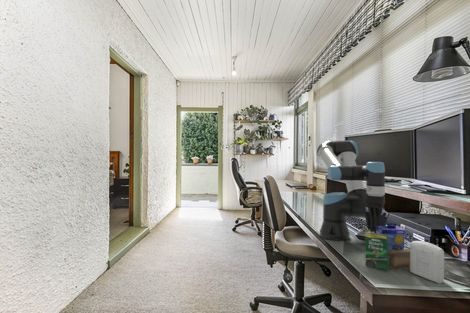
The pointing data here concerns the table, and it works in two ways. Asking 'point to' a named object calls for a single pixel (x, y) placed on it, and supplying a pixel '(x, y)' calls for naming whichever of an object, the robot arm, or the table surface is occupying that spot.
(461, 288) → the table surface
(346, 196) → the robot arm
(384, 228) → the ink cartridge box
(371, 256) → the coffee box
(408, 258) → the walnut fence board
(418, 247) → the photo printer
